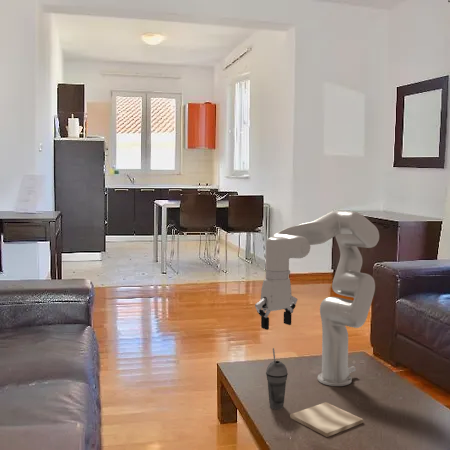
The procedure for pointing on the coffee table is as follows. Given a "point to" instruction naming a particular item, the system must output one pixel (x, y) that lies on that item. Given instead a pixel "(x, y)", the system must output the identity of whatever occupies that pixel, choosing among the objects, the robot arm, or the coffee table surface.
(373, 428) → the coffee table surface
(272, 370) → the beverage cup
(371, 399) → the coffee table surface
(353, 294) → the robot arm
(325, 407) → the birch board
